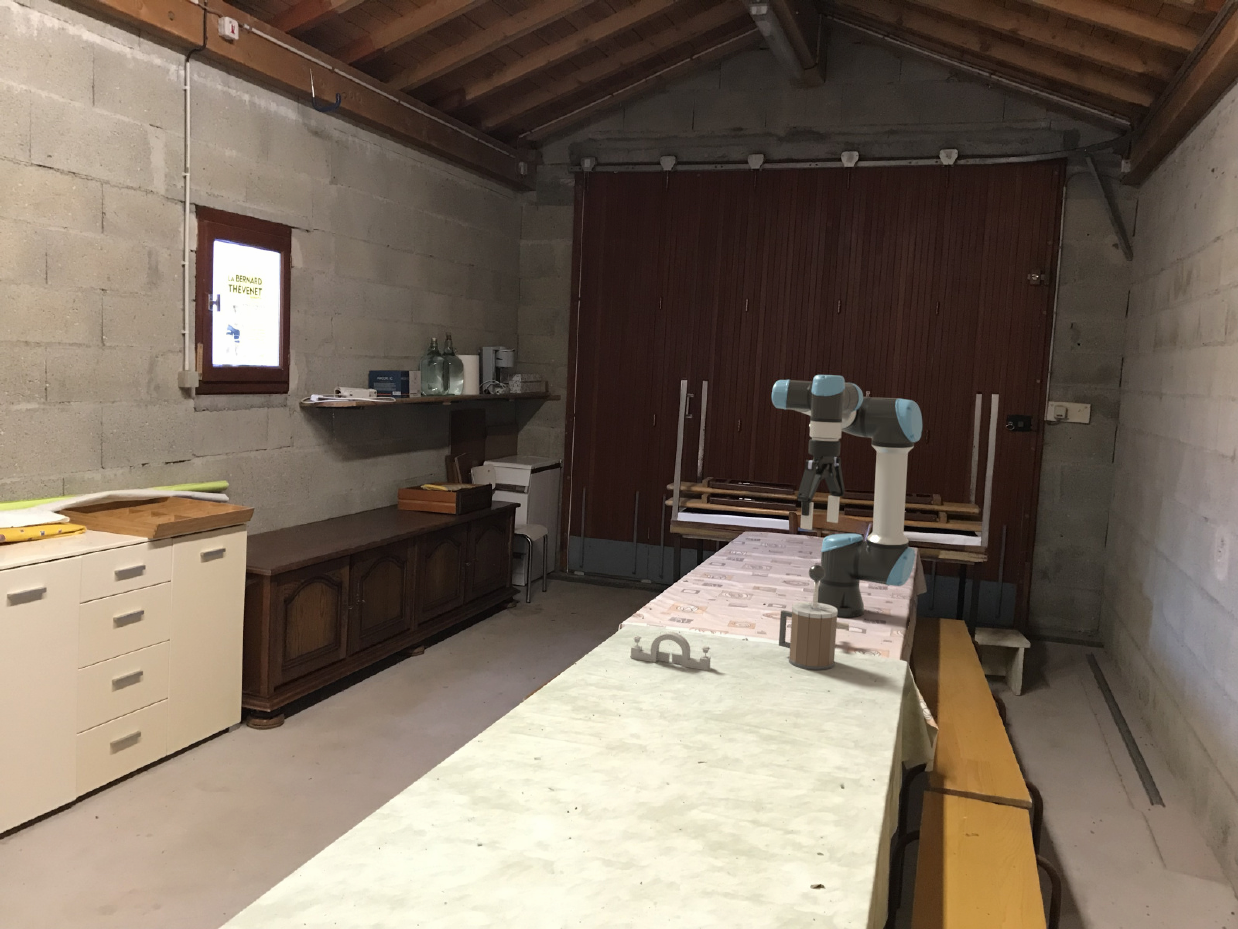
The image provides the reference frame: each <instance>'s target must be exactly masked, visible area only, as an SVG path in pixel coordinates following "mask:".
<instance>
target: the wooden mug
mask: <svg viewBox="0 0 1238 929" xmlns="http://www.w3.org/2000/svg"><path fill="white" fill-rule="evenodd" d="M812 605H813V601H812V602H811V601H804V602H796V603H794V604H792V607H791V611H790V610H785V609H783V610H780V619H779V637H778V646H779V647H782V648H787V649H789V656H788V663H789V664H791V665H792V666H793V667H796V668H799V669H803V670H809V671H825V670H827V671H828V670H830V669H832V668H834V666H835V655H836V654H835V652H836V639H837V629H836V625H837V622H838V617H837V613H838V611H837V608H835V607H833V606H831V605H827V604H823V603H818V604H817V610H816V609H812ZM787 618H791V623H790V624H791V625H790V627H791V628H790V639H789V640H790V641H789V642H788V641H786V636H787V634H786V632H787Z"/></svg>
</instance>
